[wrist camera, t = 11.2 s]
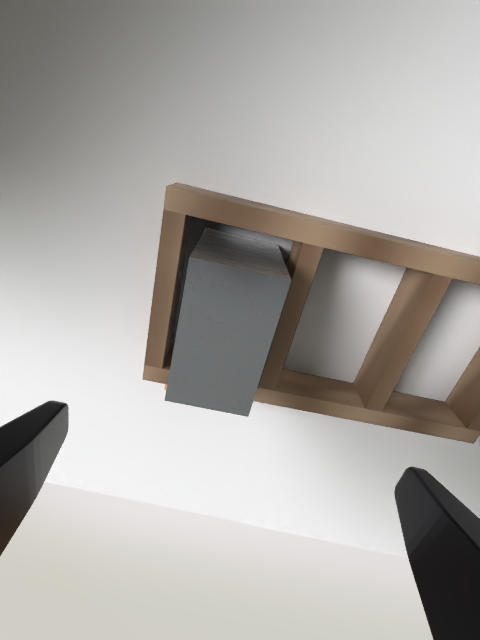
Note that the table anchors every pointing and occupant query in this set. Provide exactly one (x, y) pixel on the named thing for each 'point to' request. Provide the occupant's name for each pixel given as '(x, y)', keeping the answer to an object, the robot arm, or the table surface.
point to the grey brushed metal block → (226, 321)
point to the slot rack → (309, 241)
